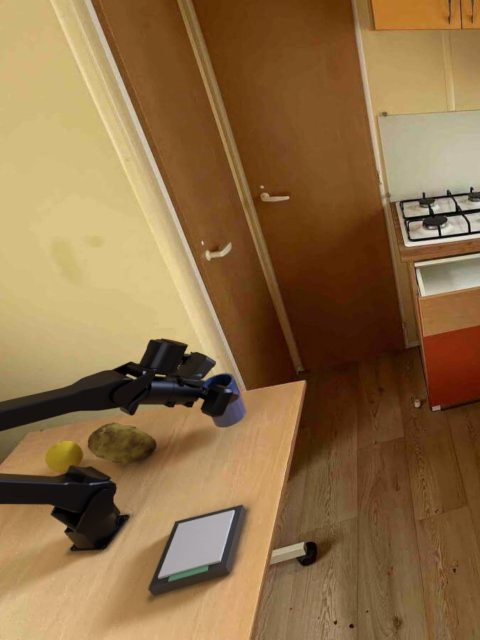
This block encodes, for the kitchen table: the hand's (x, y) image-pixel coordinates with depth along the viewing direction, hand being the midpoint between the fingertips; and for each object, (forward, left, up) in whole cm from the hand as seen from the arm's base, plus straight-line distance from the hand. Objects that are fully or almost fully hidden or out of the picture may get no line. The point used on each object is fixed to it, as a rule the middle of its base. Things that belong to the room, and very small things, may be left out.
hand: (227, 392), depth 103 cm
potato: (-9, +21, -10) cm, 25 cm away
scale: (-31, -9, -10) cm, 34 cm away
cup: (-1, +1, -7) cm, 7 cm away
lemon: (-12, +31, -10) cm, 34 cm away
